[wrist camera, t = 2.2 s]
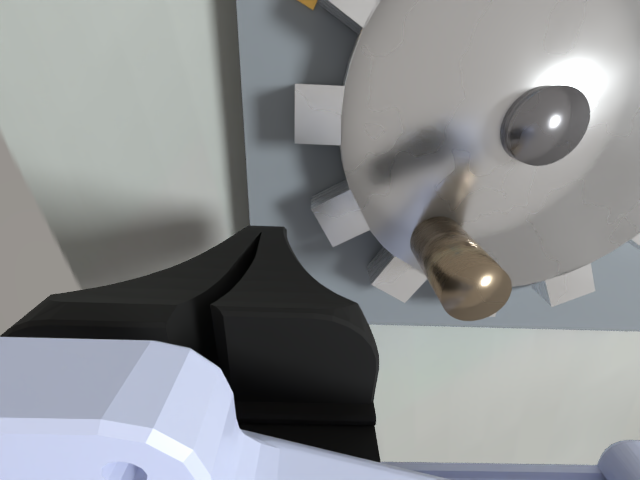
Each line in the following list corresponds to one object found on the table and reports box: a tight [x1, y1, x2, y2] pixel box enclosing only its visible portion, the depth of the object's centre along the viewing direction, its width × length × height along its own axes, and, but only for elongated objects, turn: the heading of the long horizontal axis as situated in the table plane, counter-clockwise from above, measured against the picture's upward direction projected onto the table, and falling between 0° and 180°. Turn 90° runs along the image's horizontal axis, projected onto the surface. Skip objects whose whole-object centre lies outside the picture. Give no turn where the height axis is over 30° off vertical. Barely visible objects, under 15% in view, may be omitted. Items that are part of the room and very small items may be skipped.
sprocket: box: [295, 0, 640, 321], centre depth 10 cm, size 16×16×5 cm
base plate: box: [236, 0, 640, 331], centre depth 12 cm, size 20×20×1 cm
